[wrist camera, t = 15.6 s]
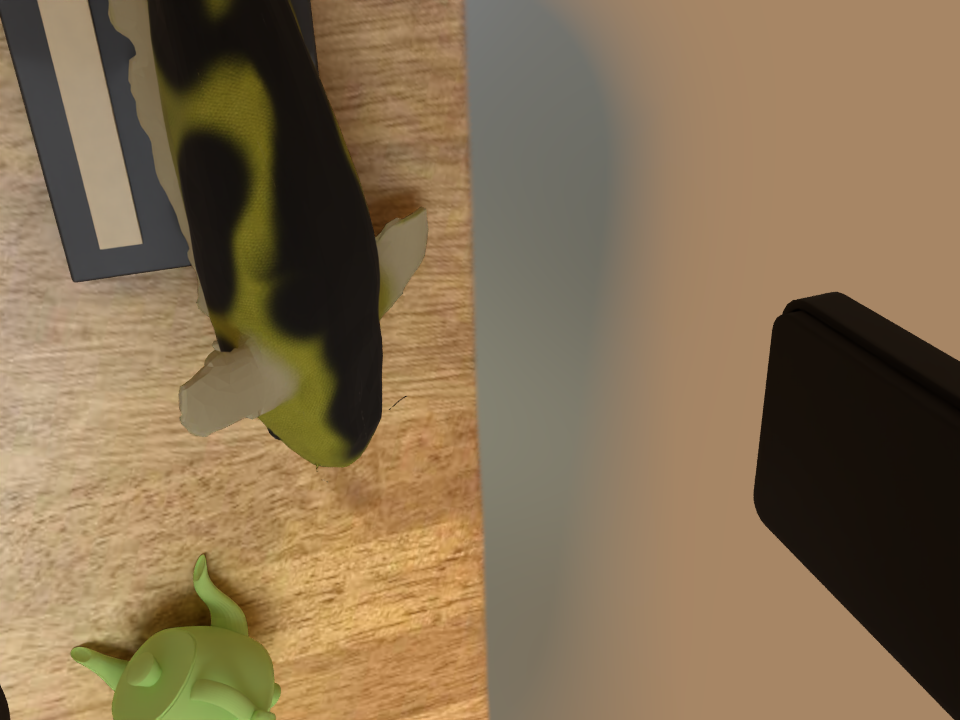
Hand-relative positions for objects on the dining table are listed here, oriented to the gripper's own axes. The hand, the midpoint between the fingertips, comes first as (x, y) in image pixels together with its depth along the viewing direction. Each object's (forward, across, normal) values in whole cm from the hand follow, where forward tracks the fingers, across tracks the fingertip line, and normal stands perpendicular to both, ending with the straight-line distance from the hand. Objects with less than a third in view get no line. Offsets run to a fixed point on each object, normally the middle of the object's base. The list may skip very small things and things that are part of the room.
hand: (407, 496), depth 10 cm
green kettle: (+20, +6, +20) cm, 29 cm away
